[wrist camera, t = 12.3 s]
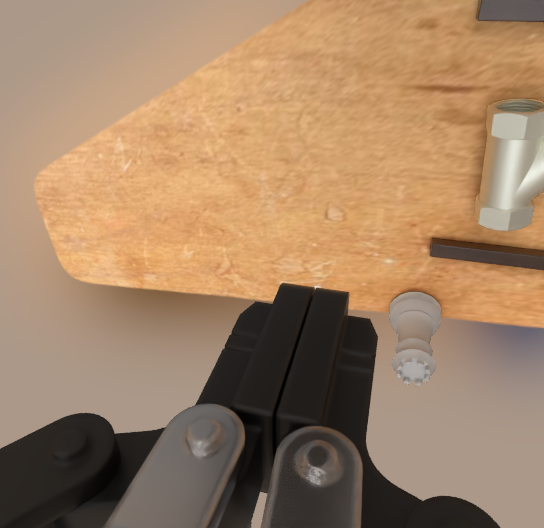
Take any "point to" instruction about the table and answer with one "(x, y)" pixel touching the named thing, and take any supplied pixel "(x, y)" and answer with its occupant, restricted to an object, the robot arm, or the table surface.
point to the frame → (492, 7)
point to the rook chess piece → (414, 335)
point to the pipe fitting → (511, 164)
